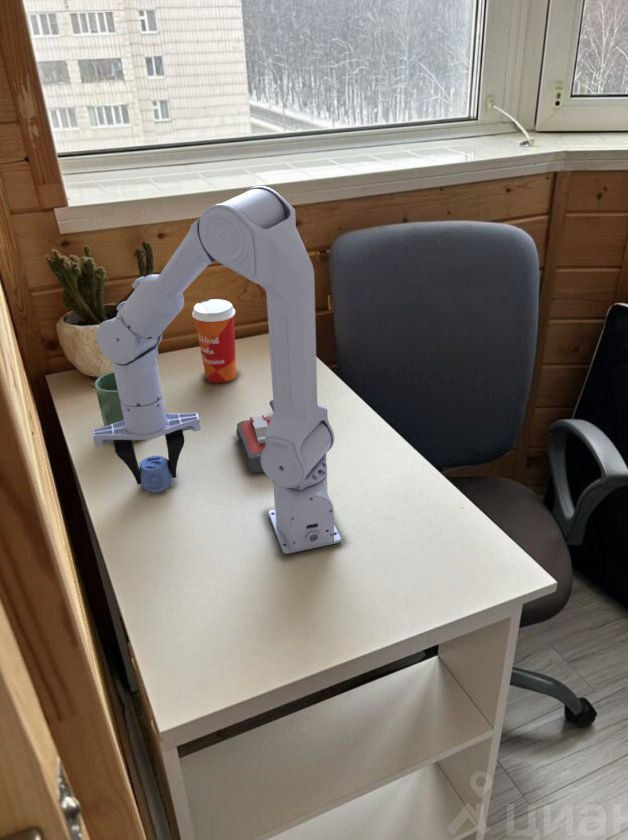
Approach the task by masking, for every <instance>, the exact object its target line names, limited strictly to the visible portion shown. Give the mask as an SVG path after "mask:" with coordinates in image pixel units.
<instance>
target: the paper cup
mask: <svg viewBox="0 0 628 840" xmlns="http://www.w3.org/2000/svg"><path fill="white" fill-rule="evenodd" d="M235 314H236V309H235V308H234V306H233V304H232V302H230V301H228V300H225V299H219V298H216V299H214V298H213V299H208V300H204V301H200V302H197V303H195V305H194V306H193V310H192V313H191V316H192V318H193V319H194V324H195V328H196V333H197V339H198V344H199V349H200V354H201V358H202V365H203V370H204V374H205V378H206V380H207V381H208V382H210V383H215V384H224V383H228V382H231V381H233V380H234V379H235V378H236V377H237V362H236V359H237V358H236V336H235V335H236V334H235Z"/></svg>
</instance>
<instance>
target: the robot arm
mask: <svg viewBox="0 0 628 840" xmlns="http://www.w3.org/2000/svg"><path fill="white" fill-rule="evenodd" d="M296 222H297V221H296V209H295V208H294V207H293V206H292V205H291V204H290V202H289V203H288V202H287V200H286V199H285V198H284V197H283V196H282V195H280V194H279V192H277V191H276V190H274V189H273V188H271V187H268V186H265V185H258V186H257V185H256V186H253V187H251V188H249V189H248V190H246V191H245V192H243V193H242V194H240V195H237V196H235V197H233V198H231V199H229V200H226V201H224V202H221V203H216V204H213V205H210V206H209V207H208V208H206V209H205V210H204V212H203V213H202V214H201V216H200V218H198V219H196V220H195V221H194V222H193V223H192V224H190V229H189V230H188V232H187V233H186V235H185V236H184V238H183V240H182V241H181V243H180V244H179V245H178V247H177V248H176V249H175V251H174V253H173V255H172V256H171V257H170V259H169V260H168V261H167V263H166V265H165V266H164V267H163V269H162V271H160V273H159V274H157V273H156V274H154V273H153V274H148V275H146V276H140V277H138V278H137V279H135V280H134V281H133V283H132V284H131V287H132V289H133V292H132V293H131V294H130V296H129V297H128V298H127V299H126V301H125V300H124V301H122V302H120V303H119V304H118V305H117V307H116V310H117V313H116V316H115V317H113V318H110V319H107V320H103V321H102V322H100V323H99V327H98V328H97V330H96V343H97V345H98V347H99V350H100V351H101V353H102V354H103V355H104V357H106V358H107V359H108V360H109V361H111V365H112V370H113V372H114V375H115V379H116V384H117V389H118V394H119V398H120V403H121V408H122V412H123V417H124V420H123V421H120V422H117V423H114V424H111V425H108V426H105V427H104V426H101V427H97V428H93V429H92V439H93V442H94V446H95V448H96V449H97V448H102V447H104V446H105V445H106V444H112V443H113V447H114V452H115V454H116V456H117V457H118V458H119V459H120V460H121V461H122V462H123V463H124V464H125V465H126V466H127V468H128V469H129V470H130V472H131V474H132V475H133V477H134V479H135V481H136V484H137V485H142V483H141V477H140V464H139V462H138V459H137V456H136V451H135V445H134V442H133V440H138V441H148V440H153V439H157V438H160V437H162V436H164V437H165V444H166V448H167V457H168V458H167V459H168V460H169V467H170V473H171V479H176V478H177V468H178V462H179V458H180V455H181V452H182V450H183V448H184V447H185V446H184V445H185V442H186V441H185V436H184V435H185V434H184V432H185V431H190V430H192V431H193V432H200V431H201V430H202V427H201V422H200V416H199V414H198V412H193V413H192V412H191V413H167V411H166V407H165V400H164V394H163V388H162V384H161V377H160V371H159V366H158V361H157V360H158V357H159V345H160V344H161V343H162V340H163V332H164V331H165V330H166V329H167V327H168V326H169V325H170V324H171V323H172V322H173V321H174V320H175V318H176V317H177V316H178V315H179V314H180V313H181V311H182V310H183V309H184V306H185V297H184V294H183V293H184V292H185V291H186V290H187V289H188V287H189V286H190V285H191V284H192V283H193V282H194V281H195V280H196V279H197V278H198V277H199V276H200V275H201V274H202V273H203V271H204V270H205V269H207V267H208V266H209V265H212V264H214V263H216V262H218V263H220V265H221V264H222V265H223V266H225V267H226V268H227V269H230V270H232V271H233V272H235V273H237V274H238V275H240V276H242V277H244V278H246V279H247V280H249V281H251V282H253V283H254V284H256V285H260V286H261V287H262V288H263V289H264V290H265V293H266V308H267V309H266V310H267V322H268V324H267V326H268V339H269V356H270V357H269V358H270V373H271V387H272V388H271V389H272V400H273V405H274V412H272V413H273V414H272V416H271V417H272V419H271V421H270V424H269V426H268V429H267V432H266V435H265V437H266V445H265V448H264V450H263V452H262V454H261V466H262V469H263V472H264V473H265V476H266V477H267V478H268V479H269V480H270V481H271V483H272V486H273V487H272V489H273V500H274V501H273V502H274V509H269V510H268V516H269V517H268V518H269V520H270V521H271V526H272V528H273V530H274V533H275V536H276V537H277V540H278V543H279V546H280V548H281V551H282V553H283V554H285V555H288V554H294V553H299V552H302V551H306V550H307V551H308V550H312V549H316V548H320V547H326V546H330V545H334V544H338V543H341V542H342V537H341V535H340V533H339V531H338V529H337V527H336V525H335V517H334V516H335V513H334V505H333V502H332V500H331V498H330V496H329V492H328V464H327V453H328V452H329V451H330V450H332V448H333V446H334V444H335V432H334V430H333V427H332V426H331V424H330V421H329V417H328V408H326V407H325V406H324V405H321V404H320V403H319V402H318V375H317V372H318V371H317V370H318V369H317V334H316V333H317V331H316V296H315V295H316V291H315V289H316V288H315V285H316V284H315V270H314V265H313V263H312V260H311V258H310V256H309V254H308V251H307V249H306V247H305V245H304V243H303V240H302V238H301V236H300V234H299V231H298V229H297V224H296Z"/></svg>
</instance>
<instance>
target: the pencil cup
mask: <svg viewBox="0 0 628 840" xmlns="http://www.w3.org/2000/svg"><path fill="white" fill-rule="evenodd" d="M94 389H95V392H96V397H97V402H98V406H99V410H100V414H101V420H102V422H103V427H105V426H108V425H111V424H114V423H117V422H120V421H123V420H124V417H123V412H122V408H121V403H120V398H119V394H118V389H117V384H116V379H115V375H114V371H111V372H108V373H104V374H102V375H100V376H99V377H97V379H96V380H95V381H94ZM138 441H139V440H133V443H135V442H138Z"/></svg>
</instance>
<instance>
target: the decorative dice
mask: <svg viewBox="0 0 628 840" xmlns="http://www.w3.org/2000/svg"><path fill="white" fill-rule="evenodd" d="M139 469H140V477H141V483H142V484H141V487H142V489H143V490H145V491H147V492H150V493H163V492H165V491H166V490H168V489H169V488H170V487H171V486H172V477H171V473H170V467H169V459H168V458H166V457H165V456H162V455H151V456H148V457H145V458H144V459H142V460H141V461H140V462H139Z"/></svg>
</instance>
